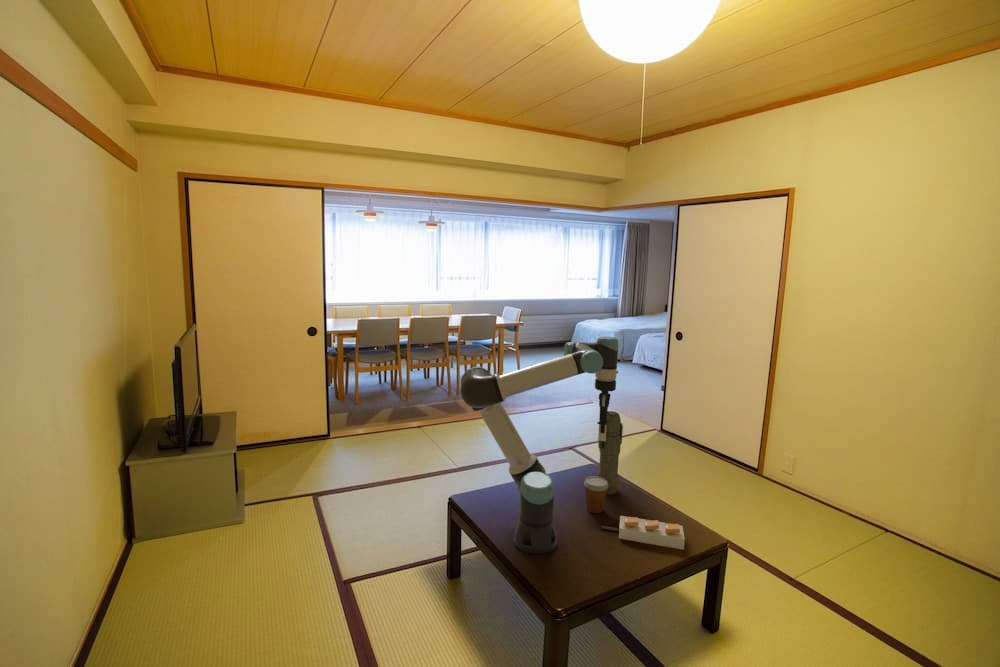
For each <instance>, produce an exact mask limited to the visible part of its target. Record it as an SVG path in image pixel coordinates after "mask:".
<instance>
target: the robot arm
mask: <svg viewBox="0 0 1000 667" xmlns="http://www.w3.org/2000/svg"><path fill="white" fill-rule="evenodd" d="M618 358H619V340H618V339H617V337H613V336H598V337H597V340H596V341H595V342H586V341H585V342H578V341H577V342H576V341H572V342H568V341H567V342H566V343H565V344H564V347H563V355H562V356H558V357H555V358H552V359H549V360H546V361H543V362H539V363H537V364H533V365H530V366H527V367H523V368H520V369H518V370H515V371H511V372H508V373H504V374H502V375H499V374H497V373H495V374H492V373H491V372H490V371H489V370H488V369H486V368H485V367H482V366H472V367H471V368H469V369H467V370H466V371H465V372H464V373H463V375H462V377H461V379H460V397H461V399H462V401H463V402H464V403H465V404H466V405H467V406H469V407H470V408H472V411H474V412H476V413H479V414H480V416H481V417H482V419H483V421H484V422H485V424H486V426H487V428H488V430H489V432H490V433H491V435H492V437H493V439H494V440H495V442H496V444H497V446H498V447H499V449H500V451H501V452H502V454H503V456H504V457H505V459H506V461H507V463H508V464H509V467H508V472H509V474H510V476H511V478H512V479H513V482H514V483H515V485H516V487H517V491H518V496H519V519H518V522H517V525H516V527H515V530H514V533H513V543H514V545H515V546H516V548H517V549H519V550H520V551H521V552H524V553H527V554H532V555H545V554H547V553H550V552H552V551H553V550H555V548H556V546H557V541H558V538H557V532H556V529H555V525H554V522H553V520H554V518H553V517H554V500H555V499H554V497H555V491H556V490H555V484H554V480H553V479H552V477H550V476H549V475H547V472H546V470H545V467H544V466H543V465H542V464H541V462H540V461H539V459H538V457H537V455H535V454H534V453H530V452H529V449H528V448H527V446H526V445H525V442H524V441H523V439H522V437H521V436H520V434H519V431H517V428H516V427H515V425H514V423H513V422H512V419H511V418H510V417H509V415H508V413H507V411H506V409H505V407H504V406H503V404H502V403H503V402H505V401H506V399H507V398H509V397H512V396H516V395H518V394H521V393H526V392H528V391H531V390H534V389H538V388H541V387H543V386H547V385H550V384H553V383H556V382H560V381H562V380H566V379H570V378H572V377H574V376H575V377H576V376H578V375H582V374H585V373H586V374H595V375H594V376H595V379H594V380H595V381H594V388H595V389H596V390H597V391H600V392H599V394H598V400H599V401H598V403H599V404H598V407H599V420H598V421H597V425H598V437H597V442H599V441H606V429H607V423H609V421H607V412H608V411H609V410H608V408H609V406H610V400H611V393H609V392H614V391H616V389H617V380H616V379H617V374H619V371H618V370H617V369H618Z"/></svg>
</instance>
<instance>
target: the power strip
mask: <svg viewBox="0 0 1000 667" xmlns="http://www.w3.org/2000/svg"><path fill="white" fill-rule="evenodd" d="M630 517H631V516H625V515H620V516H619V525H618V526H619V528H617V527H611V526H605V525H601V529H603V530H608V531H613V532H614V531H615V532H618V539H620V540H621V539H622V540H627V541H632V542H638V543H643V544H647V545H655V546H660V547H665V548H671V549H677V550H678V549H679V550H685V541H686V540H685V539H686V538H685V534H684V527H683V525H680V524H679V529H680V533H666V531H665V524H670V523H667V522H663V521H662V522H661V521H658V523H659V529H651V530H645V527H644V521H652V520H650V519H644V518H639V517H638V525H639V526H625V524H624V518H630Z"/></svg>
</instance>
